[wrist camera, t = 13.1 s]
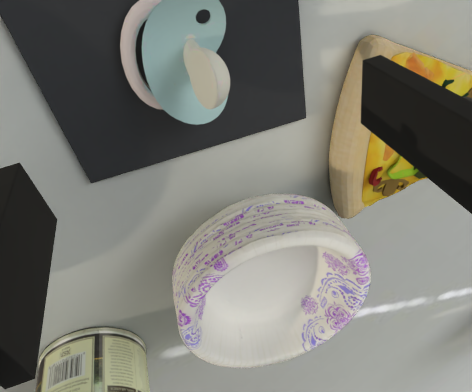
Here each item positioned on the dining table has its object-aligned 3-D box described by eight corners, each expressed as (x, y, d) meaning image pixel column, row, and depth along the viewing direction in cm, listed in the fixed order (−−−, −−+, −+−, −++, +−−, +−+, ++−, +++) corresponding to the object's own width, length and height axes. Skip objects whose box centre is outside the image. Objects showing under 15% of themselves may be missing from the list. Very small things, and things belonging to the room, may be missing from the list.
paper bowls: (147, 196, 29) (158, 274, 23) (333, 152, 31) (389, 213, 25) (182, 314, 38) (197, 392, 32) (323, 274, 41) (361, 339, 34)
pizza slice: (338, 36, 25) (362, 49, 23) (587, 2, 29) (629, 11, 27) (318, 213, 35) (333, 235, 32) (507, 171, 39) (533, 188, 36)
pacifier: (133, 115, 24) (224, 104, 26) (135, 167, 20) (248, 151, 21) (107, -14, 20) (219, -20, 21) (103, 13, 15) (248, 2, 16)
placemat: (91, 180, 27) (90, 183, 26) (-34, -53, 18) (-37, -53, 18) (304, 115, 28) (306, 118, 28) (286, -129, 19) (289, -130, 19)
